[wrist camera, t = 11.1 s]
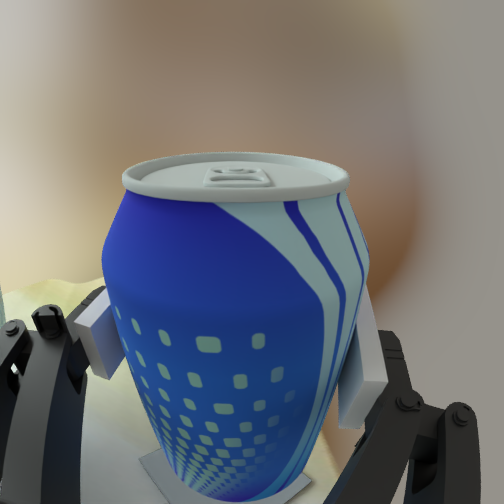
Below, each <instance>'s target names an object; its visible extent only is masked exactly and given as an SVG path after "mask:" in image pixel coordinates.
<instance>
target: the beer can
mask: <svg viewBox="0 0 504 504" xmlns="http://www.w3.org/2000/svg"><path fill="white" fill-rule="evenodd" d="M122 183H123V186H124V187H125V188H126V193H125V195H124V198H123V200H122V202H121V204H120V207H119V209H118V211H117V213H116V216H115V218H114V221H113V223H112V225H111V228H110V230H109V233H108V235H107V238H106V240H105V243H104V247H103V251H102V269H103V275H104V279H105V284H106V288H107V292H108V296H109V300H110V304H111V308H112V312H113V316H114V319H115V323H116V326H117V330H118V333H119V337H120V340H121V343H122V346H123V350H124V353H125V356H126V359H127V362H128V365H129V368H130V371H131V374H132V376H133V379H134V382H135V385H136V388H137V390H138V393H139V395H140V398H141V401H142V403H143V406H144V408H145V411H146V413H147V416H148V418H149V420H150V423H151V425H152V427H153V430H154V432H155V434H156V436H157V439H158V441H159V443H160V445H161V447H162V449H163V452H164V454H165V456H166V458H167V460H168V462H169V464H170V466H171V468H172V469H173V471H174V472H175V474H176V475H177V476H178V477H179V478H180V479H181V480H182V481H183V482H184V483H185V484H186V485H187V486H189V487H190V488H191V489H193V490H194V491H196V492H198V493H200V494H202V495H204V496H206V497H209V498H212V499H215V500H219V501H224V502H234V503H243V502H252V501H258V500H261V499H265V498H268V497H270V496H273V495H275V494H277V493H279V492H280V491H282V490H284V489H285V488H287V487H288V486H289V485H290V484H292V483H293V482H294V481H295V480H296V479H297V477H298V476H299V475H300V474H301V472H302V471H303V469H304V468H305V465H306V463H307V461H308V459H309V457H310V454H311V452H312V449H313V447H314V445H315V442H316V440H317V437H318V435H319V432H320V430H321V427H322V425H323V422H324V419H325V417H326V414H327V412H328V409H329V406H330V403H331V401H332V398H333V395H334V392H335V389H336V386H337V383H338V380H339V377H340V374H341V371H342V368H343V365H344V362H345V358H346V355H347V352H348V348H349V345H350V342H351V338H352V335H353V331H354V327H355V324H356V320H357V316H358V313H359V309H360V305H361V301H362V297H363V292H364V288H365V284H366V280H367V275H368V270H369V251H368V246H367V243H366V241H365V239H364V236H363V233H362V231H361V228H360V226H359V223H358V221H357V219H356V216H355V214H354V211H353V209H352V207H351V204H350V202H349V200H348V198H347V195H346V192H345V191H346V189H347V188H348V186H349V183H350V177H349V174H348V173H347V172H346V171H345V170H344V169H342V168H340V167H337V166H335V165H332V164H329V163H326V162H322V161H318V160H313V159H309V158H303V157H297V156H290V155H281V154H271V153H256V152H210V153H196V154H185V155H177V156H171V157H164V158H159V159H154V160H150V161H146V162H143V163H140V164H137V165H134V166H132V167H130V168H129V169H127V170H126V171H125V172H124V173H123V175H122Z"/></svg>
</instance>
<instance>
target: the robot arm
mask: <svg viewBox="0 0 504 504" xmlns="http://www.w3.org/2000/svg"><path fill="white" fill-rule="evenodd" d="M31 316H32V319H33V321H34V324H35V326H36V328H37V331H32V330H27V328H26V325H25V323H24V322H23V321H22V320H18V319H14V320H11V321H9V322H7V323H6V319H5V312H4V305H3V299H2V293H1V287H0V482H1V479H2V485H1V495H0V504H81V503H80V458H81V438H82V424H83V413H84V403H85V394H86V387H87V373H86V371H85V370H86V369H87V368H88V366H89V365H90V366H91V369H92V371H93V373H94V374H95V375H97V376H100V377H102V378H105V379H108V380H110V378H111V377H112V375H113V374H114V372H115V371H116V369H117V368H118V366H119V365H120V363H121V362H122V360H123V359H124V357H125V353H124V350H123V346H122V343H121V340H120V337H119V333H118V330H117V326H116V323H115V319H114V316H113V312H112V308H111V304H110V300H109V296H108V292H107V288H106V286H101V287H99V288H97V289H95V290H93V291H92V292H91V293H90V294H89V295H88V296H87V297H86V299H84V300H83V301H82V302H81V304H80V305H78V306H77V307H76V308H75V309H74V310H73V311H72V312H71V313H70V314H69V315H68V316H67V318H66V319H64V316H63V313H62V310H61V309H60V307H58V306H57V305H52V304H50V305H44V306H42V307H39V308H38V309H37V310H35V311H34V312H33V314H32V315H31ZM13 363H14V364H15V366H16V367H17V371H16V372H15V373H13V371H12V370H11V367H12V365H13ZM338 400H339V428H345V429H346V428H347V429H360V427H361V426H362V424H363V423H364V421H365V432H364V434H363V435H362V437H361V438H360V439H359V441H358V442H357V444H356V445H355V447H356V448H355V450H354V452H353V454H352V456H351V458H350V459H349V461H348V463H347V465H346V467H345V468H344V470H343V472H342V473H341V475H340V477H339V479H338V480H337V482H336V484H335V485H334V487H333V488H332V490H331V492H330V493H329V495H328V496H327V498H326V499H325V501H324V503H323V504H390V503H391V501H392V499H393V497H394V494H395V492H396V489H397V487H398V485H399V483H400V480H401V477H402V475H403V473H404V470H405V468H406V465H407V462H408V460H409V465H408V474H407V482H406V490H405V496H404V503H403V504H480V496H481V495H480V494H481V472H480V453H479V451H480V450H479V438H478V428H477V419H476V416H475V413H474V411H473V410H472V408H471V407H469V406H468V405H466V404H464V403H461V402H454V403H452V404H450V405H449V406H448V407H447V408H446V410H444V409H440V408H436V407H433V406H429V405H427V404H425V403H424V401H423V399H422V397H421V396H420V395H419V394H418V393H417V392H416V391H414V390H413V389H412V386H411V382H410V378H409V374H408V370H407V366H406V362H405V360H404V355H403V352H402V347H401V344H400V340H399V339H398V338H397V337H396V335H395V334H394V333H393V332H392V331H384V330H377V326H376V321H375V317H374V313H373V309H372V305H371V301H370V297H369V293H368V290H367V286H366V284H365V288H364V292H363V297H362V301H361V305H360V309H359V313H358V316H357V320H356V324H355V327H354V331H353V335H352V338H351V342H350V345H349V348H348V352H347V355H346V358H345V362H344V365H343V368H342V371H341V374H340V377H339V380H338Z"/></svg>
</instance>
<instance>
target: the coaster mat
mask: <svg viewBox="0 0 504 504" xmlns="http://www.w3.org/2000/svg"><path fill="white" fill-rule="evenodd" d="M139 460H140V462H141V464H142V465H143V467H144V468H145V470H146V471H147V473H148V474H149V476H150V477H151V478H152V480H153V481H154V483H155V484H156V485H157V487H158V488H159V490H160V491H161V492H162V494H163V495H164V496H165V498H166V499H167V500H168V502H169V503H170V504H285V503H286V502H287V501H289V500H290V499H291V498H292V497H294V496H295V495H296V494H297V493H298V492H300V491H301V490H302V489H303V488H304V487H306V486H307V485H308V484H309V483H310V482H311V481H312V480H311V479H310V478H308V477H307V476H306V475H305V474H303V473H302V472H301V474H300V475H299V476H298V477H297V479H296V480H295V481H294V482H293V483H292V484H290V485H289V486H288V487H287V488H285V489H284V490H282V491H280V492H279V493H277V494H275V495H273V496H270V497H268V498H265V499H261V500H258V501H252V502H243V503H234V502H224V501H219V500H215V499H212V498H209V497H206V496H204V495H202V494H200V493H198V492H196V491H194V490H193V489H191V488H190V487H189V486H187V485H186V484H185V483H184V482H183V481H182V480H181V479H180V478H179V477H178V476H177V475H176V474H175V472H174V471H173V469H172V468H171V466H170V464H169V462H168V460H167V458H166V456H165V454H164V452H163V449H162V448H160V449H158V450H156V451H154V452H152V453H150V454H148V455H146V456H143V457H141V458H139Z"/></svg>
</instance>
